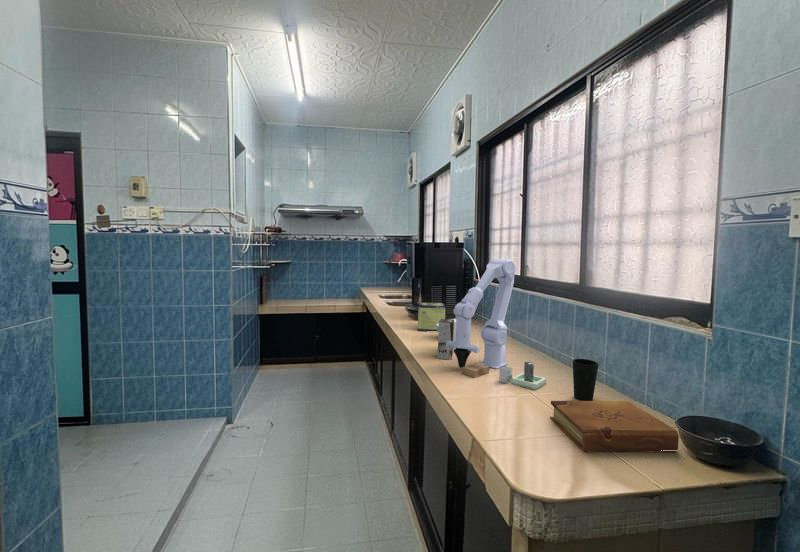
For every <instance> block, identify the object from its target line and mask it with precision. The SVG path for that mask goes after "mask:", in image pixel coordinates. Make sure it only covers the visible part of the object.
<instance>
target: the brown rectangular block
mask: <svg viewBox="0 0 800 552" xmlns="http://www.w3.org/2000/svg"><path fill="white" fill-rule="evenodd" d="M461 374H462V375H464V376H467V377H470V378H472V379H476V378H479V377H482V376H485V375H489V374H490V367H489V366H485V365H482V364H480V363H479V362H476V363H475V362H474V363H472V364H468V365H465V366H464V367H462V368H461Z"/></svg>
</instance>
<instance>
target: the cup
mask: <svg viewBox="0 0 800 552" xmlns="http://www.w3.org/2000/svg"><path fill="white" fill-rule="evenodd" d="M571 361H572V380H573V385H572V386H573V397H574V398H575V399H576V400H577V401H594V395H595V389H596V383H597V377H598V371H599V363H598V362H597V361H595V360H593V359H587V358H586V359H585V358H573V359H572V360H571Z"/></svg>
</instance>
